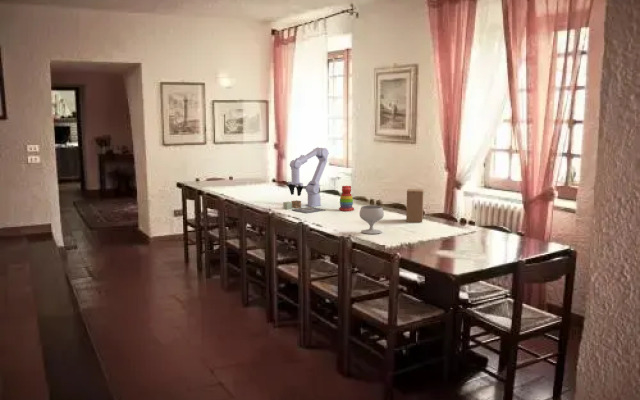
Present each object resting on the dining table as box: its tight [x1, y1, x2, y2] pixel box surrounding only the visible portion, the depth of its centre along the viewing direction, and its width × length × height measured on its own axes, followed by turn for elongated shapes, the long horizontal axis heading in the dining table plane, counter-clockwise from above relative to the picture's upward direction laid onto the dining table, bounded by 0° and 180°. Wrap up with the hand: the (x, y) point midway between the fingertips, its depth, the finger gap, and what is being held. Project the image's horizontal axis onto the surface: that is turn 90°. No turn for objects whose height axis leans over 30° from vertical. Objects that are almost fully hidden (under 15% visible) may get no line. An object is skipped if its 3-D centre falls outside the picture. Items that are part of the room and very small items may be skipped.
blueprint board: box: [291, 206, 326, 214], centre depth 401 cm, size 18×16×1 cm
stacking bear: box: [338, 185, 355, 212], centre depth 399 cm, size 11×10×18 cm
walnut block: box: [290, 199, 302, 209], centre depth 412 cm, size 5×5×5 cm
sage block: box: [282, 201, 293, 211], centre depth 407 cm, size 4×4×5 cm
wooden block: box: [405, 188, 424, 223], centre depth 359 cm, size 10×10×20 cm
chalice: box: [359, 204, 385, 235], centre depth 325 cm, size 14×14×15 cm
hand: (295, 195), depth 410 cm, fingers open, 7 cm apart
